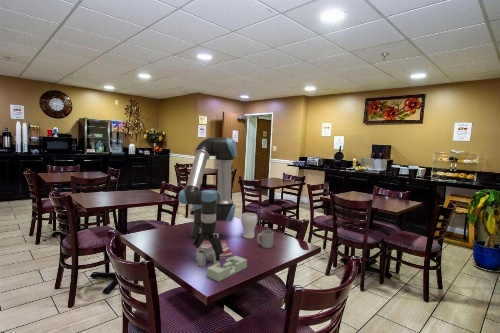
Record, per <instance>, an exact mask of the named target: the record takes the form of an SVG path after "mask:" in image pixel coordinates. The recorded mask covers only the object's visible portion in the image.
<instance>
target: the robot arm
mask: <svg viewBox="0 0 500 333" xmlns="http://www.w3.org/2000/svg"><path fill="white" fill-rule="evenodd" d="M237 150H238V149H237V143H236V140H235V139H234V138H232V137H231V138H229V137H208V138H205V139H203V140H202V141H201V142H200V143H199V144H198V145H197V146H196V148H195V150H194V159H193V162H192V166H191V168H190V172H189V176H188V179H187V183H186V186H185V189H181V190H180V191H179V192H178V196H177V197H178V202H179V204H182V205H194V208H193V226H192V229H191V231H190V237H191V238H192V239H193V242H192V246H195V260H196V261H197V257H198V251H201V247H199V246H200V245H201V244H202V242H203V241H209V242H210V243H211V245H212V247H213V250H214V252H215V254H214V262H213V265H215V264H217V263H220V259H221V258H220V254H222V253H223V249H222V245H221V241H222V240H221V237H220V233H219V232H217V233H216V226H217V222H225V223H226V222H229V223H230V222H232V221H233V219H234V216H235V213H236V212H235V211H236V203H234V200H233V199H232V163H233V162H234V160H235V158H236V157H237V155H238V151H237ZM211 157H215V160H216V161H217V190H213V189H206V190H200V189H201V185H202V182H203V177H204V174H205V170H206V166H207V162H208V160H209V159H210V158H211ZM217 251H218V252H217Z"/></svg>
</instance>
